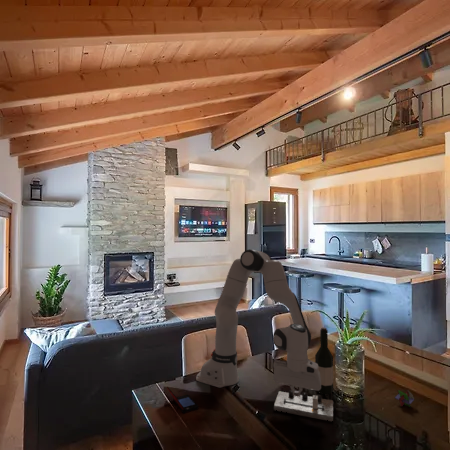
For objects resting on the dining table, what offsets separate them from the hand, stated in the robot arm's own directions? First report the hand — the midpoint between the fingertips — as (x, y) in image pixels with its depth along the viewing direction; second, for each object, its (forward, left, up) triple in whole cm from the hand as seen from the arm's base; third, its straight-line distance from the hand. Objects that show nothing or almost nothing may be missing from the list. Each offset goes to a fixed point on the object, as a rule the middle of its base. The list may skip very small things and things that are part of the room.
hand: (296, 395), depth 133 cm
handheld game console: (-48, -14, -6) cm, 50 cm away
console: (+3, +3, -6) cm, 7 cm away
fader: (+8, +1, -4) cm, 9 cm away
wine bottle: (+11, +22, -6) cm, 25 cm away
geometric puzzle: (+45, +20, -6) cm, 49 cm away
